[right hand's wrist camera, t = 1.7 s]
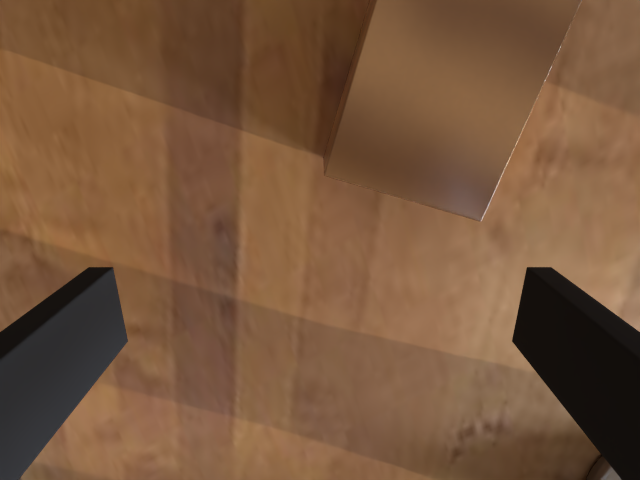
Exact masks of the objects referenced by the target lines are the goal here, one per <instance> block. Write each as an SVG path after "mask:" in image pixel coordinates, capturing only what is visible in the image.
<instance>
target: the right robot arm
mask: <svg viewBox="0 0 640 480" xmlns="http://www.w3.org/2000/svg"><path fill="white" fill-rule="evenodd" d="M127 342H128V339H127V334H126V329H125V325H124V320H123V315H122V310H121V305H120V300H119V295H118V290H117V285H116V280H115V275H114V270H113V267H89V268H87V269H86V270H85V271H83V272H82V273H80V274H79V275H78V276H76V277H75V278H74V279H72V280H71V281H70V282H68V283H67V284H65V285H64V286H63V287H61V288H60V289H59V290H57V291H56V292H55V293H53V294H52V295H50V296H49V297H48V298H46V299H45V300H44V301H42V302H41V303H40V304H38V305H37V306H35V307H34V308H33V309H31V310H30V311H29V312H27V313H26V314H25V315H23V316H22V317H20V318H19V319H18V320H16V321H15V322H14V323H12V324H11V325H10V326H8V327H7V328H5V329H4V330H3V331H1V332H0V480H19V478H20V477H21V476H22V475H23V473H24V472H25V471H26V470H27V468H28V467H29V466H30V464H31V463H32V462H33V461H34V459H35V458H36V457H37V456H38V454H39V453H40V452H41V451H42V449H43V448H44V447H45V445H46V444H47V443H48V442H49V440H50V439H51V438H52V437H53V435H54V434H55V433H56V432H57V430H58V429H59V428H60V426H61V425H62V424H63V423H64V421H65V420H66V419H67V418H68V416H69V415H70V414H71V413H72V411H73V410H74V409H75V407H76V406H77V405H78V404H79V402H80V401H81V400H82V399H83V397H84V396H85V395H86V394H87V392H88V391H89V390H90V388H91V387H92V386H93V385H94V383H95V382H96V381H97V380H98V378H99V377H100V376H101V375H102V373H103V372H104V371H105V369H106V368H107V367H108V366H109V364H110V363H111V362H112V361H113V359H114V358H115V357H116V356H117V354H118V353H119V352H120V350H121V349H122V348H123V347H124V345H125V344H126V343H127ZM512 342H513V343H514V344H515V345H516V347H517V348H518V349H519V350H520V352H521V353H522V354H523V356H524V357H525V358H526V359H527V361H528V362H529V363H530V364H531V366H532V367H533V368H534V369H535V371H536V372H537V373H538V375H539V376H540V377H541V378H542V380H543V381H544V382H545V383H546V385H547V386H548V387H549V388H550V390H551V391H552V392H553V394H554V395H555V396H556V397H557V399H558V400H559V401H560V402H561V404H562V405H563V406H564V407H565V409H566V410H567V411H568V413H569V414H570V415H571V416H572V418H573V419H574V420H575V421H576V423H577V424H578V425H579V426H580V428H581V429H582V430H583V432H584V433H585V434H586V435H587V437H588V438H589V439H590V440H591V442H592V443H593V444H594V445H595V447H596V448H597V449H598V451H599V452H600V453H601V454H602V457H601V458H600V459H599V460H598V461H597V462H596V463H595V465H594V466H593V468H592V469H591V471H590V472H589V474H588V476H587V479H586V480H640V332H639V331H637V330H636V329H635V328H633V327H632V326H630V325H629V324H628V323H626V322H625V321H624V320H622V319H621V318H620V317H618V316H617V315H615V314H614V313H613V312H611V311H610V310H609V309H607V308H606V307H605V306H603V305H602V304H600V303H599V302H598V301H596V300H595V299H594V298H592V297H591V296H590V295H588V294H587V293H585V292H584V291H583V290H581V289H580V288H579V287H577V286H576V285H575V284H573V283H572V282H570V281H569V280H568V279H566V278H565V277H564V276H562V275H561V274H560V273H558V272H557V271H555V270H554V269H553V268H551V267H527V270H526V275H525V280H524V285H523V290H522V295H521V300H520V305H519V310H518V315H517V320H516V325H515V329H514V334H513V339H512Z"/></svg>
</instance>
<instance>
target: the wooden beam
mask: <svg viewBox="0 0 640 480" xmlns="http://www.w3.org/2000/svg"><path fill="white" fill-rule="evenodd" d="M581 2H582V0H370V1H369V5H368V8H367V11H366V15H365V18H364V22H363V25H362V28H361V32H360V35H359V39H358V42H357V45H356V49H355V52H354V56H353V59H352V62H351V66H350V69H349V73H348V76H347V79H346V83H345V86H344V90H343V93H342V96H341V100H340V103H339V107H338V110H337V113H336V117H335V120H334V124H333V127H332V130H331V134H330V137H329V141H328V144H327V147H326V151H325V154H324V175H325V176H327V177H331V178H334V179H337V180H341V181H344V182H348V183H351V184H354V185H358V186H361V187H365V188H368V189H371V190H375V191H378V192H381V193H385V194H388V195H392V196H395V197H398V198H402V199H405V200H409V201H412V202H415V203H419V204H422V205H426V206H429V207H432V208H436V209H439V210H443V211H446V212H449V213H453V214H456V215H460V216H463V217H466V218H470V219H473V220H476V221H482V219H483V217H484V214H485V212H486V210H487V208H488V206H489V203H490V201H491V199H492V197H493V195H494V192H495V190H496V188H497V186H498V184H499V181H500V179H501V177H502V175H503V173H504V171H505V168H506V166H507V164H508V162H509V160H510V157H511V155H512V153H513V151H514V149H515V146H516V144H517V142H518V140H519V138H520V135H521V133H522V131H523V129H524V127H525V125H526V122H527V120H528V118H529V116H530V114H531V111H532V109H533V107H534V105H535V103H536V100H537V98H538V96H539V94H540V92H541V89H542V87H543V85H544V83H545V81H546V78H547V76H548V74H549V72H550V70H551V68H552V65H553V63H554V61H555V59H556V57H557V54H558V52H559V50H560V48H561V46H562V43H563V41H564V39H565V37H566V35H567V32H568V30H569V28H570V26H571V24H572V21H573V19H574V17H575V15H576V13H577V11H578V8H579V6H580V4H581Z"/></svg>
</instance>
